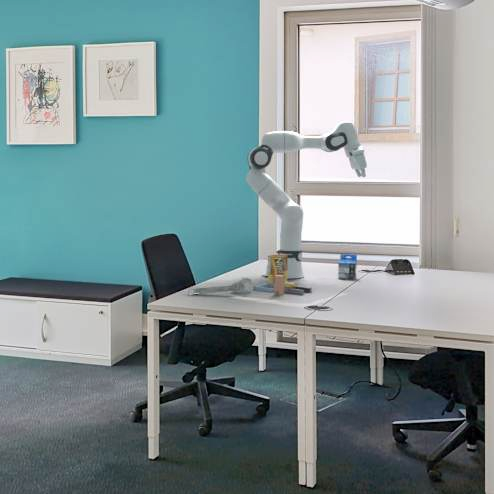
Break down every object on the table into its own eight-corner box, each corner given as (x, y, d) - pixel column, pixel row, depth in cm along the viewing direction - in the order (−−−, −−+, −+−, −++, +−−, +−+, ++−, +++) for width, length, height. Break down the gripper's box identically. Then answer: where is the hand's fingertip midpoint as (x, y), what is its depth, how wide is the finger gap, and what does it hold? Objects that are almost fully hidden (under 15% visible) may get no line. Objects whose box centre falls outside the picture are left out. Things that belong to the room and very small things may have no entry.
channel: (274, 295, 322) (274, 287, 322) (286, 292, 331) (286, 284, 330) (301, 298, 314) (301, 290, 314) (312, 295, 323) (312, 287, 322)
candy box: (284, 284, 350) (284, 253, 348) (287, 286, 346) (287, 254, 344) (267, 286, 347) (267, 254, 345) (270, 287, 343) (270, 255, 341)
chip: (283, 291, 323) (283, 282, 323) (288, 290, 326) (288, 281, 326) (291, 292, 321) (291, 283, 320) (296, 291, 324) (296, 282, 323)
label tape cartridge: (337, 278, 369) (338, 254, 367) (339, 277, 372) (340, 253, 371) (354, 279, 366) (355, 255, 364) (356, 278, 369) (357, 254, 368)
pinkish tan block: (273, 298, 315) (273, 275, 314) (278, 296, 319) (279, 274, 318) (279, 299, 314) (279, 276, 313) (284, 297, 317) (284, 275, 316)
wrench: (189, 300, 326) (254, 294, 322) (188, 301, 324) (254, 295, 320) (187, 283, 325) (252, 276, 321) (186, 284, 324) (252, 277, 320)
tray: (253, 293, 328) (253, 286, 328) (267, 289, 338) (267, 283, 337) (273, 295, 322) (273, 289, 321) (287, 291, 331) (287, 285, 331)
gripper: (343, 153, 380) (351, 178, 382) (352, 153, 360) (361, 179, 362) (355, 149, 380) (362, 174, 382) (364, 149, 360) (372, 175, 362)
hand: (362, 176), depth 372 cm, fingers open, 8 cm apart
